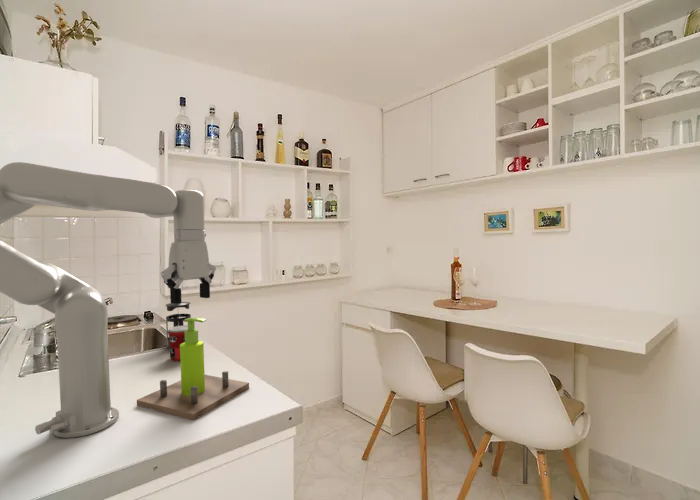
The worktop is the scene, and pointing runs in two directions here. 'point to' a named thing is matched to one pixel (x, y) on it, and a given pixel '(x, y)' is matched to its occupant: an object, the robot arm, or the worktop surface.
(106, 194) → the robot arm
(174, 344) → the canned food
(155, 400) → the peg stand
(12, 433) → the worktop surface
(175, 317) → the french press
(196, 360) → the soap dispenser
